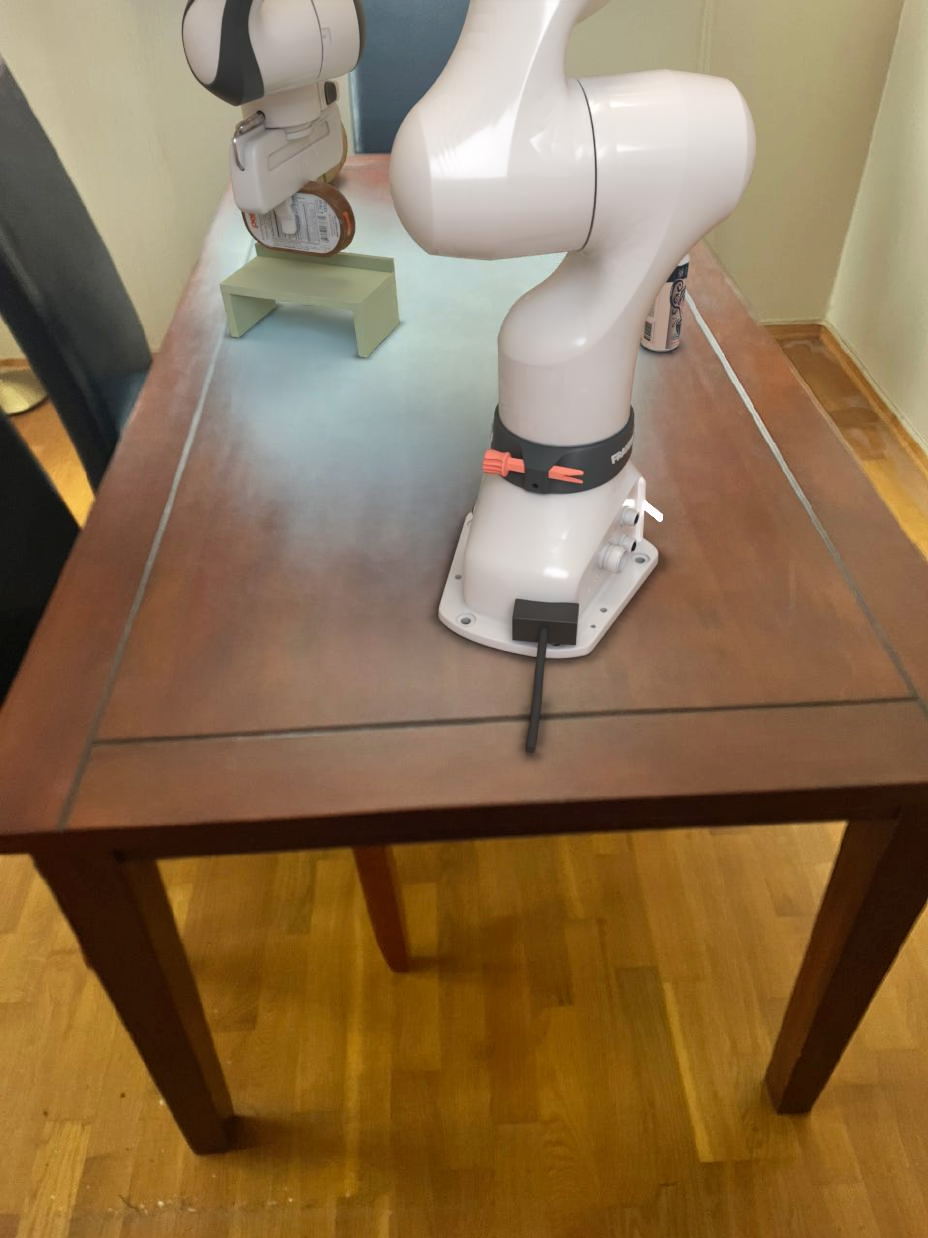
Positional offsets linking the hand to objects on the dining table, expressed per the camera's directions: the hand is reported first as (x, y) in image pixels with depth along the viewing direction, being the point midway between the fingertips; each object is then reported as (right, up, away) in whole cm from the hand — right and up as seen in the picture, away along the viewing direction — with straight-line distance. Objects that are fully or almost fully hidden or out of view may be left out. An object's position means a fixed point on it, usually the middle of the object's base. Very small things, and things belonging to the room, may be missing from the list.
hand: (299, 225), depth 114 cm
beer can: (+45, -14, +2) cm, 47 cm away
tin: (0, -3, +2) cm, 3 cm away
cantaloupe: (-7, +28, +51) cm, 59 cm away
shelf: (0, -10, +9) cm, 14 cm away
